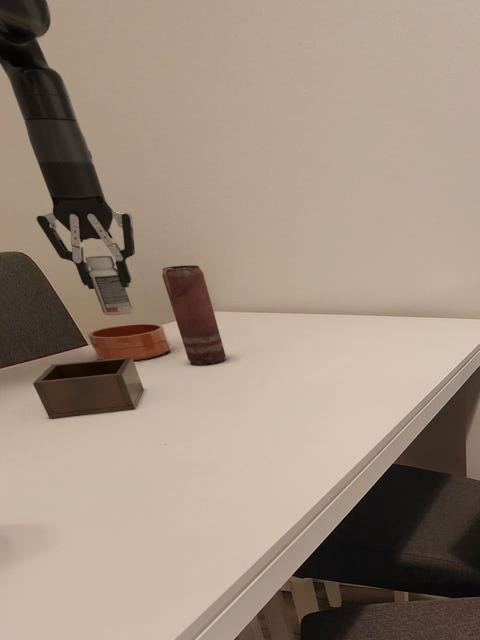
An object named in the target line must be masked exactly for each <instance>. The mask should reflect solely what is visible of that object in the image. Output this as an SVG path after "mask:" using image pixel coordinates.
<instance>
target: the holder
mask: <svg viewBox="0 0 480 640" xmlns="http://www.w3.org/2000/svg"><path fill="white" fill-rule="evenodd" d="M32 384H33V387H34V389H35V391H36V393H37V396H38V397H39V400H40V402H41V404H42V406H43V408H44V410H45V413H46V415H47V417H48V418H49V419H56V418H65V417H75V416H85V415H90V414H91V415H93V414H100V413H101V414H102V413H109V412H111V413H112V412H118V411H120V412H121V411H129V410H135V409H136V407H137V405H138V402H139V401H140V398H141V396H142V394H143V391H144V386H143V383H142V380H141V378H140V375H139V372H138V369H137V367H136V363H135V361H133V358H132V357H128V358H117V359H106V360H103V359H97V360H85V361H76V362H65V363H64V362H63V363H54V364H53V363H52V364H51V365H50V366H49V367H48V368H47V369H45V371H44V372H43V373H41V374H40V375H39V377H37V378H36V379H35V380H34V381H33V382H32Z"/></svg>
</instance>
